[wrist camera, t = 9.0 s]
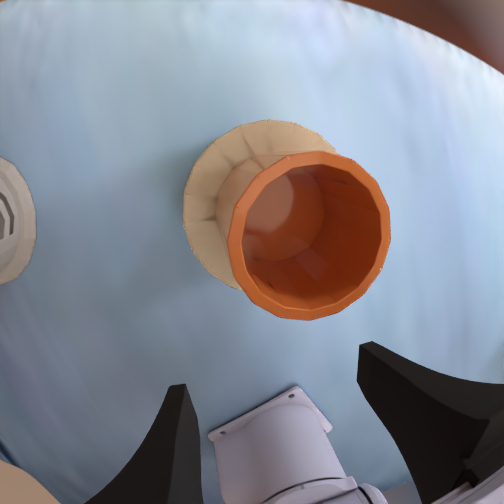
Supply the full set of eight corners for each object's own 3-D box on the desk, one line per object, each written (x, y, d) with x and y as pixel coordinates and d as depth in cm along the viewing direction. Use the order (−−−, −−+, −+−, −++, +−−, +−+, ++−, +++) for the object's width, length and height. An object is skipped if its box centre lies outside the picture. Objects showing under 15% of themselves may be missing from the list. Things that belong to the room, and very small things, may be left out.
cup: (255, 284, 15) (286, 348, 10) (192, 194, 14) (191, 218, 9) (344, 225, 15) (410, 259, 10) (291, 131, 14) (346, 120, 8)
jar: (233, 280, 22) (247, 324, 16) (160, 178, 19) (146, 187, 13) (333, 212, 22) (379, 234, 16) (271, 107, 19) (302, 89, 13)
